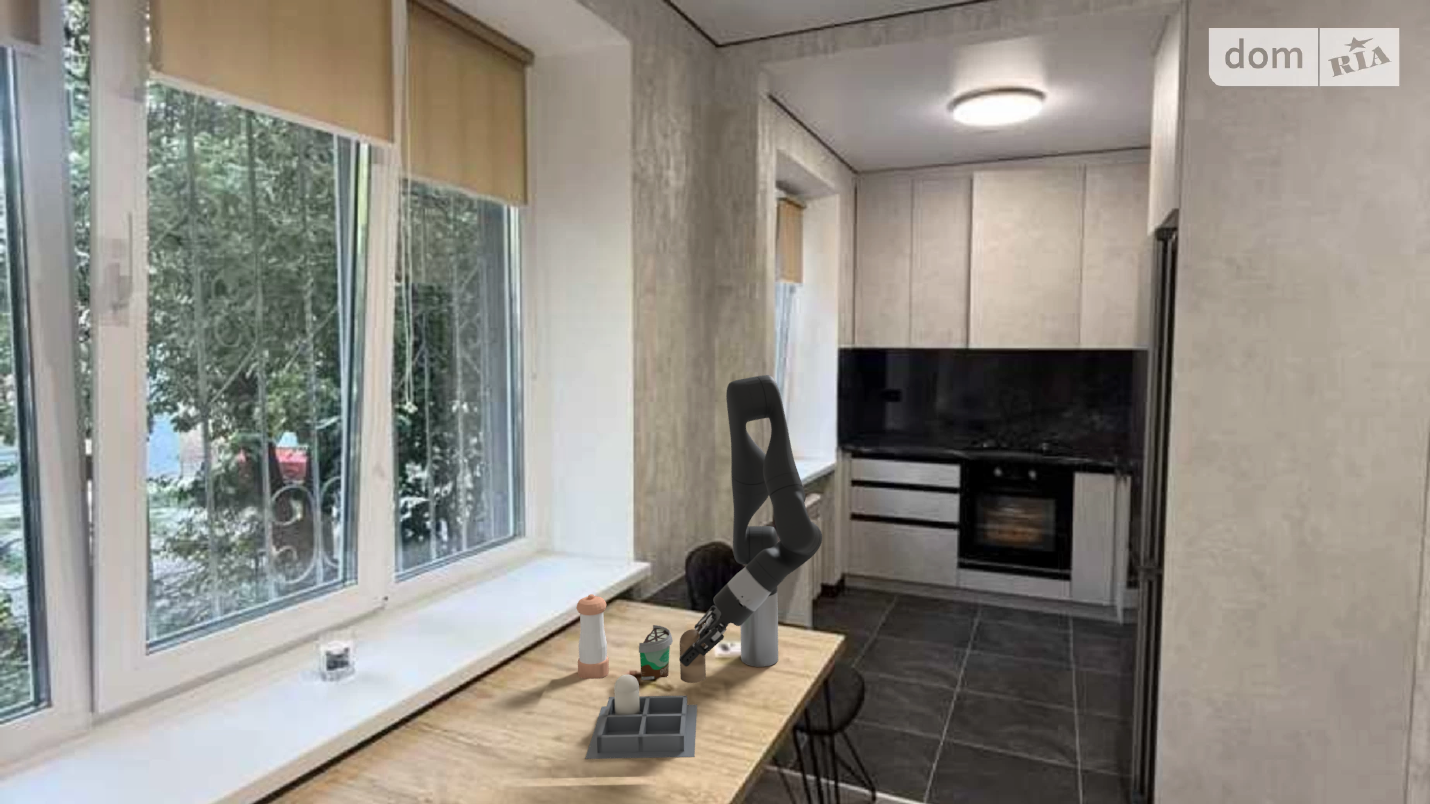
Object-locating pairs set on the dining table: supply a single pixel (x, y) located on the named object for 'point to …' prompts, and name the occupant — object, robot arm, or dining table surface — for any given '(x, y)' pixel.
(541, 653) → the dining table surface
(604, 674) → the pepper shaker
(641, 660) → the food container
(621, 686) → the white dome-top cylinder
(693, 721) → the grey compartment tray
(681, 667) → the brown domed cylinder
